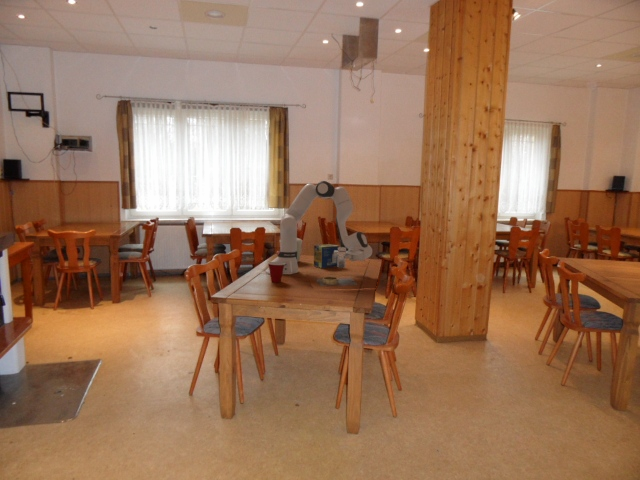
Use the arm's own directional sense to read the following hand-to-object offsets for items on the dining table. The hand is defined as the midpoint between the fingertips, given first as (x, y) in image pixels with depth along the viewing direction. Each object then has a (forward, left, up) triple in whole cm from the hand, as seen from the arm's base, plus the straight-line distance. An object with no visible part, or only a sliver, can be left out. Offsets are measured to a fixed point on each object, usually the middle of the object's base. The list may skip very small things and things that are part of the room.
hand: (340, 256), depth 278 cm
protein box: (0, +51, -16) cm, 53 cm away
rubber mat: (-3, -4, -16) cm, 17 cm away
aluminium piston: (+1, +1, -7) cm, 7 cm away
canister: (-24, +70, -16) cm, 75 cm away
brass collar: (-7, -7, -16) cm, 19 cm away
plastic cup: (-39, +5, -16) cm, 43 cm away
